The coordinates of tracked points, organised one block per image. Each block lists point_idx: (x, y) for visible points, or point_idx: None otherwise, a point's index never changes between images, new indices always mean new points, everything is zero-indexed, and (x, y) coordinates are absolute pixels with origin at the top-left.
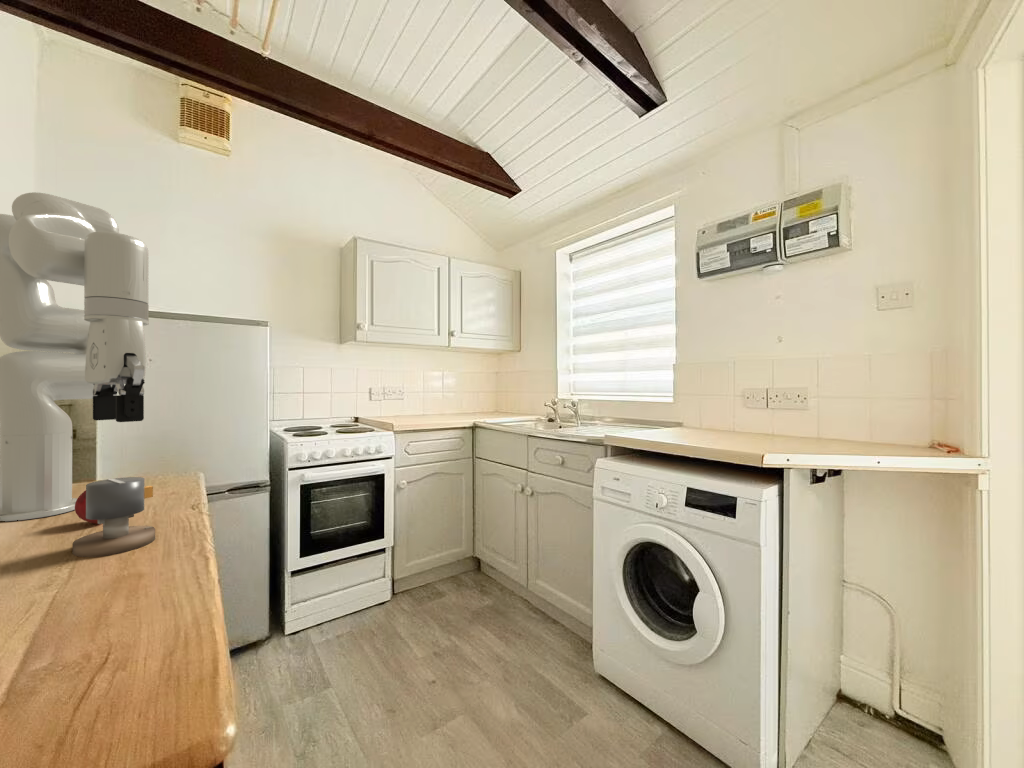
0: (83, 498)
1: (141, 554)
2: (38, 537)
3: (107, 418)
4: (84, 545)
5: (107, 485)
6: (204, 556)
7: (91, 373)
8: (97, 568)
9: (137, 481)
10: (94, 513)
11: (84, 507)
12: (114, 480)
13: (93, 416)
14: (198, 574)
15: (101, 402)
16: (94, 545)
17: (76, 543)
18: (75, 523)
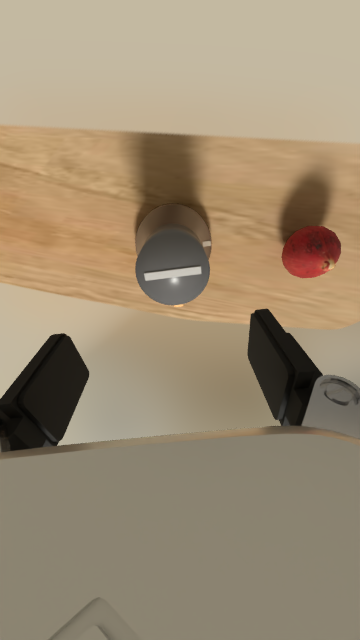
0: (311, 238)
1: (116, 257)
2: (302, 178)
3: (250, 336)
4: (157, 214)
5: (145, 258)
6: (67, 294)
7: (179, 534)
8: (96, 216)
9: (149, 294)
10: (152, 232)
11: (298, 235)
12: (178, 272)
13: (263, 313)
14: (16, 278)
15: (273, 366)
16: (147, 223)
17: (173, 208)
18: (331, 225)
